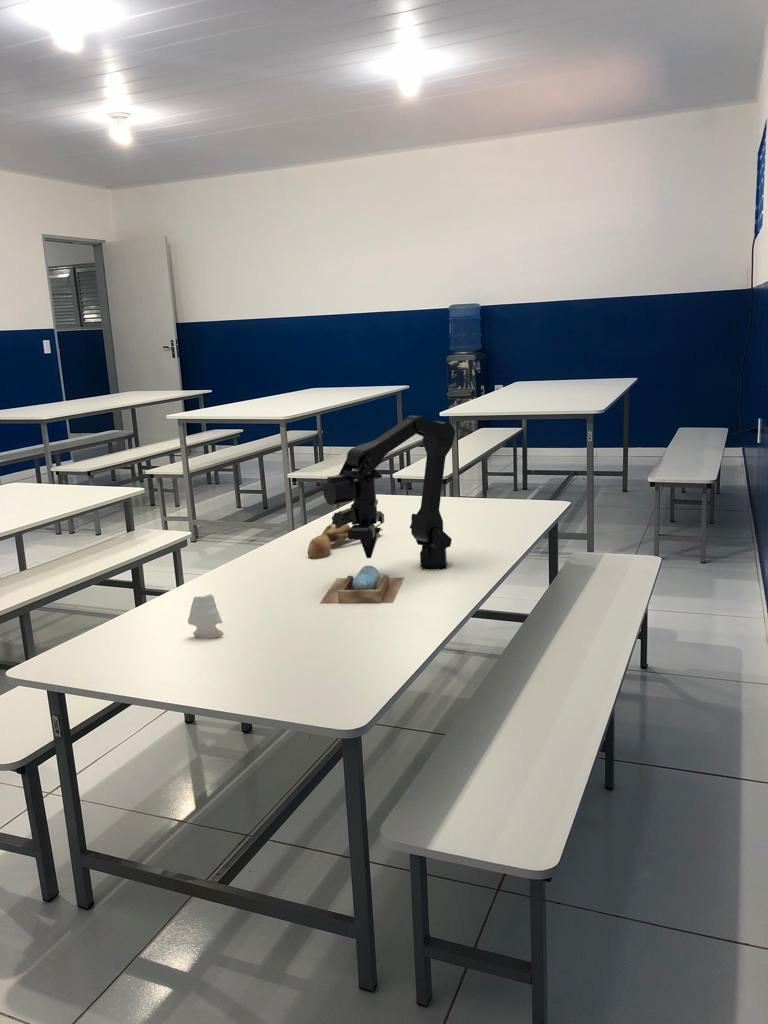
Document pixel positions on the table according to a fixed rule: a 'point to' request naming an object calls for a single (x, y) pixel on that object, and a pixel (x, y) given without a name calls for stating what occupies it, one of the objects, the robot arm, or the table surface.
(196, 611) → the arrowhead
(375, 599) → the rest
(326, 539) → the toy
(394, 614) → the table surface
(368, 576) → the bottle
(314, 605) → the table surface
